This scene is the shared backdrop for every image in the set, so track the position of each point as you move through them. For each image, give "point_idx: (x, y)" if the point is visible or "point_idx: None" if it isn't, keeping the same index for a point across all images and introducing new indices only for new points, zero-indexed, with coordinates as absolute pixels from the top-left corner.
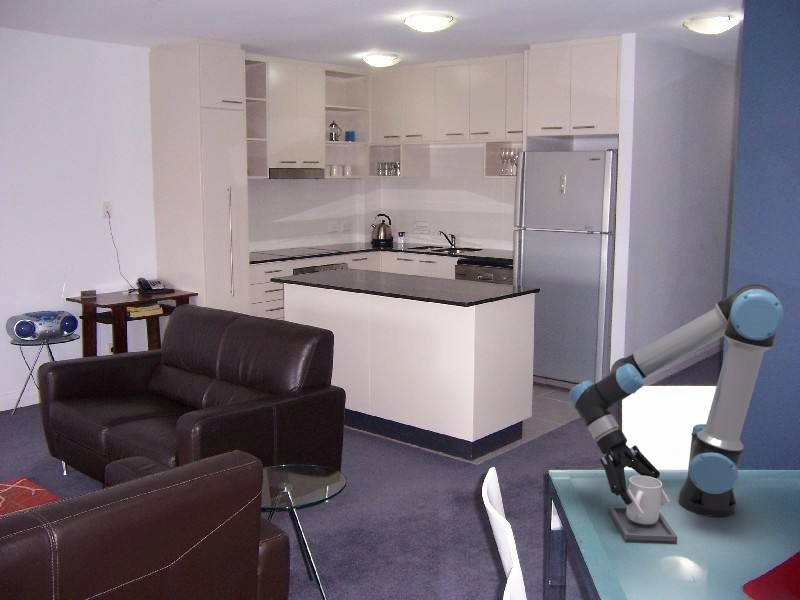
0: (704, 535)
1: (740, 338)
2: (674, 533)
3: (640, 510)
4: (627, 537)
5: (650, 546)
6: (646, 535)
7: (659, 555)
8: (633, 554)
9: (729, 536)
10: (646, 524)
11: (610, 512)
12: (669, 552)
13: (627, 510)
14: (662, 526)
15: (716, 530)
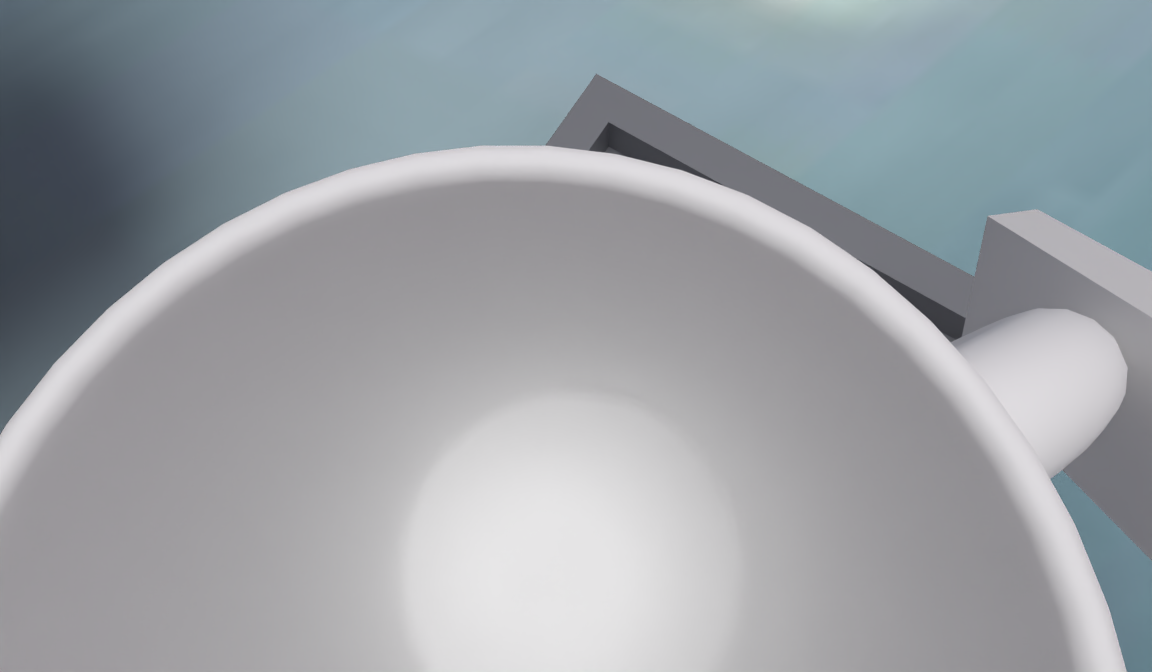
0: (235, 122)
1: None
2: (561, 132)
3: (1053, 228)
4: None
5: (850, 191)
6: (873, 224)
7: (899, 52)
8: (1115, 157)
9: (80, 25)
10: (656, 415)
11: None
12: (775, 51)
13: None
14: None
15: (58, 137)
